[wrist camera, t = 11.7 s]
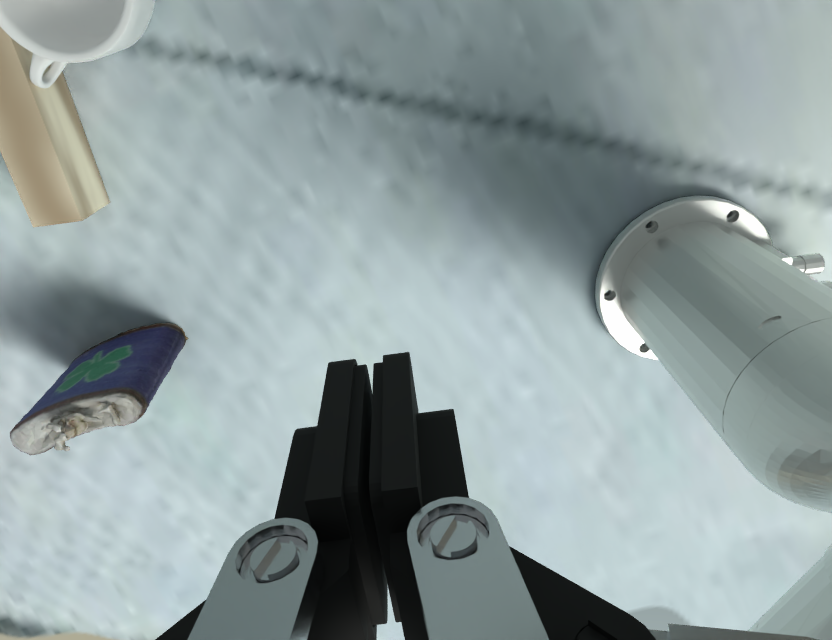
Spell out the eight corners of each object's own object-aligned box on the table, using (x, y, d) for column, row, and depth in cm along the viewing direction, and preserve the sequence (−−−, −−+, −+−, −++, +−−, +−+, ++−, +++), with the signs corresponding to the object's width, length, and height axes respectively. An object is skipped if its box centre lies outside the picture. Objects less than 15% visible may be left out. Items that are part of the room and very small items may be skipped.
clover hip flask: (87, 384, 45) (6, 481, 36) (64, 353, 44) (-27, 445, 34) (195, 345, 44) (141, 434, 35) (174, 312, 43) (113, 395, 33)
